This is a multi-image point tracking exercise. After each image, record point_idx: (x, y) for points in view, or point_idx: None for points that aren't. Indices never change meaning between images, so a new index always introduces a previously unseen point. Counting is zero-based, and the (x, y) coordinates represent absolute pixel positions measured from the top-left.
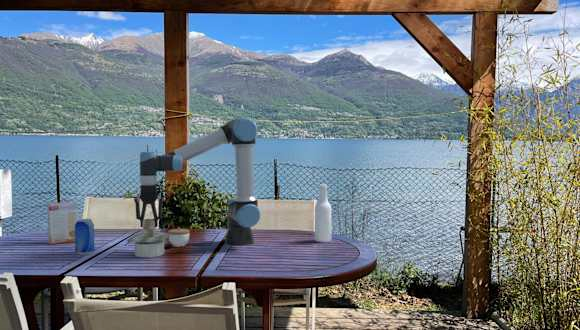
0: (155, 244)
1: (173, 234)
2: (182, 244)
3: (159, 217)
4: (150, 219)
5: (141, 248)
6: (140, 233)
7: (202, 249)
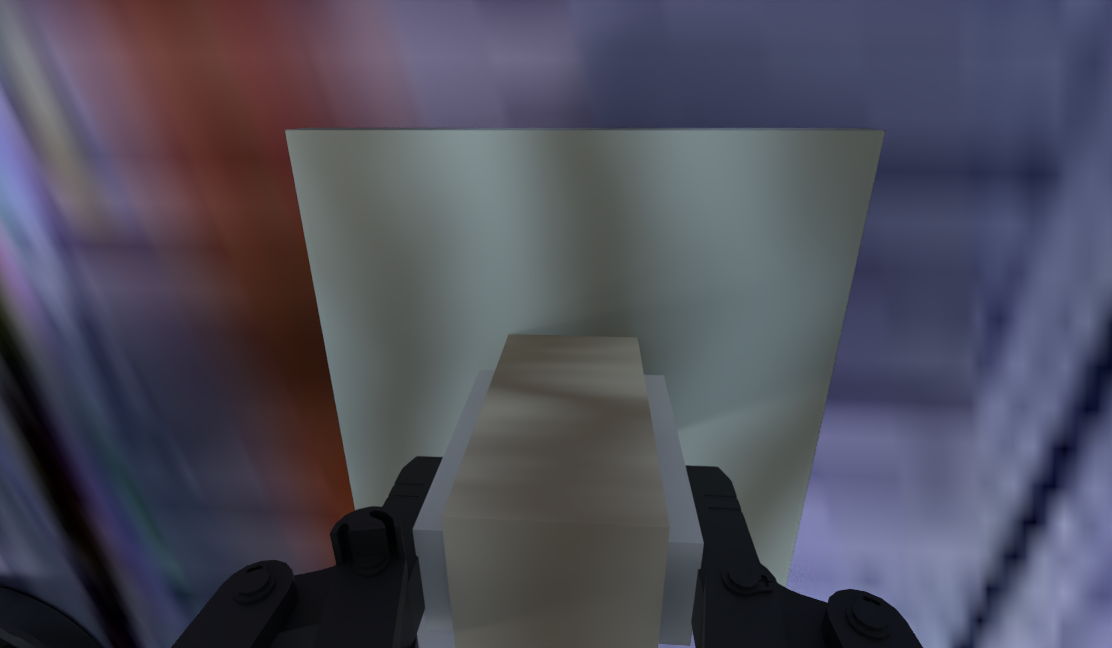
0: None
1: None
2: None
3: (239, 588)
4: (520, 602)
5: None
6: None
7: (169, 465)
